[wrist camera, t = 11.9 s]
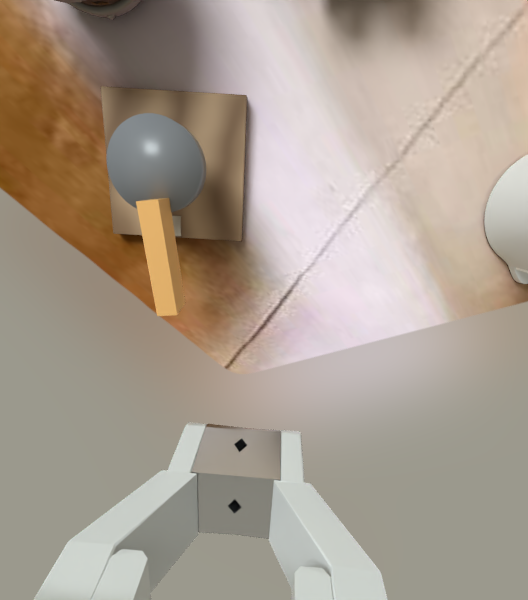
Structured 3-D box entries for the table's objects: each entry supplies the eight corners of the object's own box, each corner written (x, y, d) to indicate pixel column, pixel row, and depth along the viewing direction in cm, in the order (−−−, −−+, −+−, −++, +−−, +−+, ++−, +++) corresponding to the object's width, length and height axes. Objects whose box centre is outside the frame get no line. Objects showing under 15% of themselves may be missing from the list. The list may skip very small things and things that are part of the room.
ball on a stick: (111, 122, 34) (76, 109, 28) (200, 115, 34) (184, 100, 27) (145, 297, 40) (122, 318, 34) (221, 292, 40) (212, 312, 34)
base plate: (247, 98, 39) (246, 94, 37) (242, 239, 44) (241, 241, 42) (106, 89, 39) (99, 85, 37) (118, 231, 44) (112, 233, 42)
